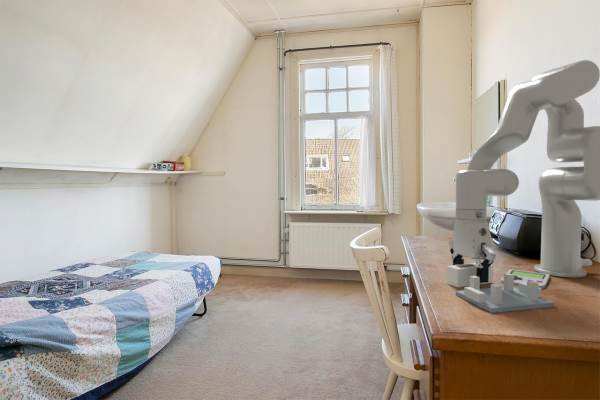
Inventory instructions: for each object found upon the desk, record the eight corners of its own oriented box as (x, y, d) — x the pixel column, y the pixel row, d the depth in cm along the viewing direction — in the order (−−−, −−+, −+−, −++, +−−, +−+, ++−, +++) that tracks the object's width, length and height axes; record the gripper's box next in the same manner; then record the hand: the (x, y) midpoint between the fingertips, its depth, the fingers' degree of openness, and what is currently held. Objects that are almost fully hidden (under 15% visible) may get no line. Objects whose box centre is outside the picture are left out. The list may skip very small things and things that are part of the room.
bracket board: (512, 290, 89) (512, 270, 89) (555, 306, 77) (555, 284, 77) (454, 295, 86) (455, 275, 86) (490, 312, 74) (491, 289, 74)
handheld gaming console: (499, 278, 96) (509, 268, 107) (499, 284, 96) (509, 273, 107) (544, 285, 89) (549, 273, 101) (544, 291, 89) (549, 278, 101)
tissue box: (480, 279, 100) (480, 260, 99) (492, 283, 96) (492, 263, 96) (446, 284, 96) (446, 263, 95) (457, 288, 92) (457, 267, 92)
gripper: (507, 218, 87) (506, 285, 88) (462, 212, 104) (461, 268, 105) (481, 219, 86) (479, 287, 86) (439, 213, 102) (438, 270, 103)
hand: (469, 277), depth 96 cm, fingers open, 9 cm apart
